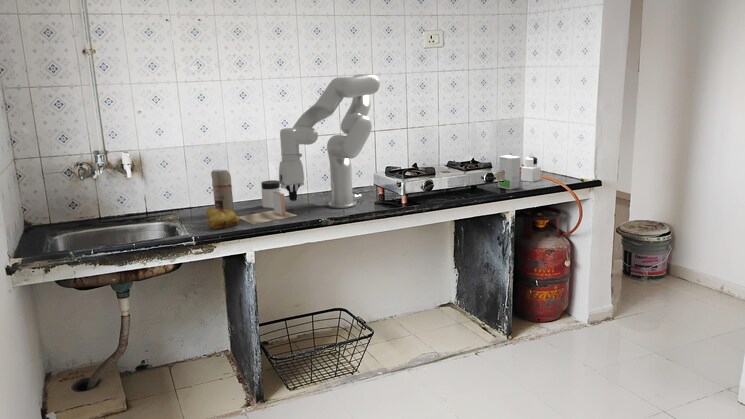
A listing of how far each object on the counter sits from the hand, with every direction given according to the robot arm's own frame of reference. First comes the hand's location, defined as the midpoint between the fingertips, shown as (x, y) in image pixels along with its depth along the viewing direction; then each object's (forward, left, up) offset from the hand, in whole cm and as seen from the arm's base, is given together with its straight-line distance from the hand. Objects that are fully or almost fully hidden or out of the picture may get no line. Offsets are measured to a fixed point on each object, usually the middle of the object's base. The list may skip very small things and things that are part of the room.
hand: (293, 200), depth 264 cm
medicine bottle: (-127, +22, -6) cm, 129 cm away
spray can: (+23, -21, -6) cm, 32 cm away
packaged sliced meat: (+13, 0, -6) cm, 14 cm away
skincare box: (-105, +27, -6) cm, 109 cm away
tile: (+7, 0, -5) cm, 8 cm away
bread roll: (+31, -1, -6) cm, 32 cm away
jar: (+2, -17, -6) cm, 18 cm away
